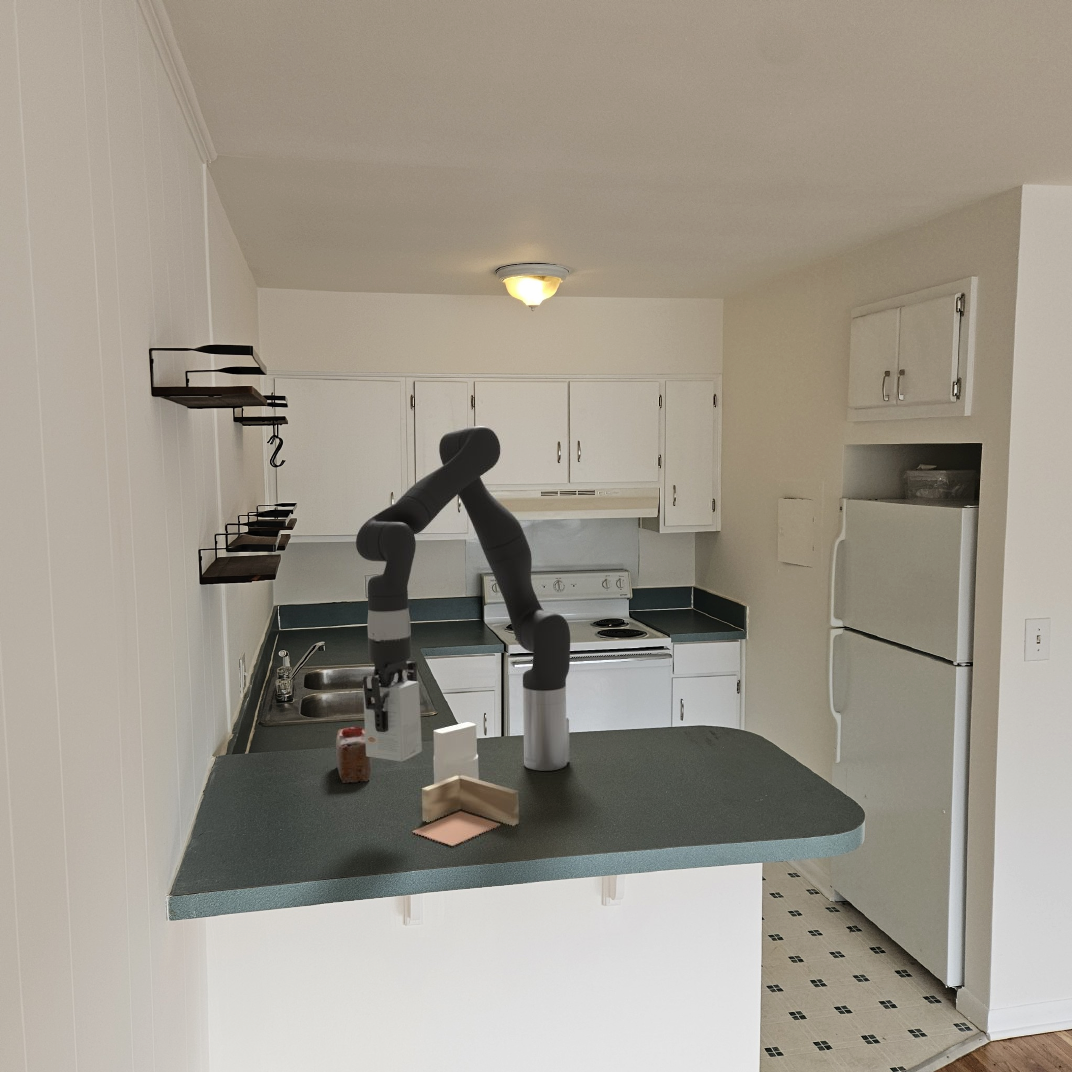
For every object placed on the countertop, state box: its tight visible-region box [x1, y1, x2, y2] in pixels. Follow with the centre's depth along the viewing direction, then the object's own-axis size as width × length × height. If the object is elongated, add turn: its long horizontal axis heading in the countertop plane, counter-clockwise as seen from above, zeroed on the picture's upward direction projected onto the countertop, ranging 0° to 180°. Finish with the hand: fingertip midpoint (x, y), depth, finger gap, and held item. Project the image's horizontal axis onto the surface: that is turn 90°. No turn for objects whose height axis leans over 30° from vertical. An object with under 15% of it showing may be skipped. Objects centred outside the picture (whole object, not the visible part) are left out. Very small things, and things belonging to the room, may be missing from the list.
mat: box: [411, 810, 501, 847], centre depth 165 cm, size 12×10×1 cm
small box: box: [362, 681, 423, 762], centre depth 166 cm, size 8×6×13 cm
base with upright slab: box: [433, 721, 480, 784], centre depth 188 cm, size 9×9×12 cm
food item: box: [334, 726, 373, 784], centre depth 197 cm, size 14×8×10 cm, turn 15°
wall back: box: [458, 775, 520, 827], centre depth 171 cm, size 2×14×6 cm, turn 50°
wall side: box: [421, 776, 461, 823], centre depth 172 cm, size 9×2×6 cm, turn 140°
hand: (392, 725), depth 167 cm, fingers closed on small box, 6 cm apart
